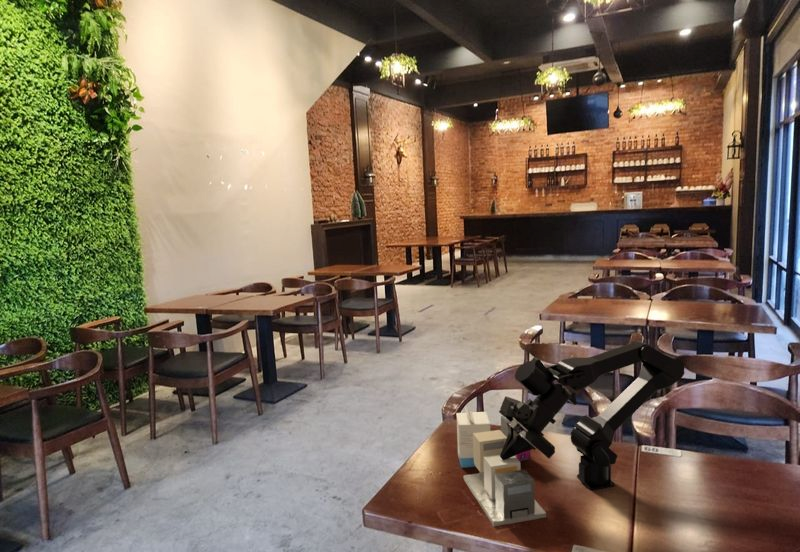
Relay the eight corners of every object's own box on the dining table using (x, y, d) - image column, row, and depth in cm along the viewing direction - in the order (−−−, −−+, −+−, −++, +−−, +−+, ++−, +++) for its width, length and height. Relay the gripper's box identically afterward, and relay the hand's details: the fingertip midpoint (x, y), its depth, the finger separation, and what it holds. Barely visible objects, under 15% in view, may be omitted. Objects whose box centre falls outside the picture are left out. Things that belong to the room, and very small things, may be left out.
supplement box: (514, 464, 136) (513, 422, 134) (500, 455, 141) (499, 415, 139) (531, 458, 138) (531, 417, 137) (517, 450, 143) (516, 410, 142)
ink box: (492, 466, 135) (491, 417, 133) (460, 468, 135) (458, 418, 133) (487, 451, 144) (486, 404, 142) (457, 452, 144) (455, 406, 142)
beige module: (500, 459, 130) (499, 429, 129) (508, 468, 125) (507, 438, 124) (473, 463, 129) (472, 433, 128) (480, 473, 124) (479, 442, 123)
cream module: (512, 483, 123) (511, 452, 122) (521, 494, 118) (520, 462, 117) (484, 488, 122) (483, 456, 121) (492, 499, 117) (491, 467, 116)
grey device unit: (508, 472, 132) (508, 439, 131) (546, 517, 112) (545, 479, 111) (463, 479, 130) (462, 445, 128) (493, 526, 110) (492, 487, 109)
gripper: (505, 373, 127) (464, 421, 127) (540, 399, 109) (492, 456, 108) (536, 400, 130) (495, 448, 129) (575, 430, 112) (528, 486, 111)
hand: (501, 458), depth 119 cm, fingers closed, pressing on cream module
